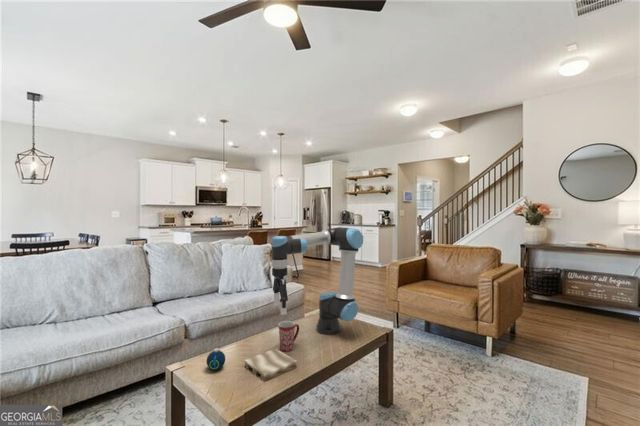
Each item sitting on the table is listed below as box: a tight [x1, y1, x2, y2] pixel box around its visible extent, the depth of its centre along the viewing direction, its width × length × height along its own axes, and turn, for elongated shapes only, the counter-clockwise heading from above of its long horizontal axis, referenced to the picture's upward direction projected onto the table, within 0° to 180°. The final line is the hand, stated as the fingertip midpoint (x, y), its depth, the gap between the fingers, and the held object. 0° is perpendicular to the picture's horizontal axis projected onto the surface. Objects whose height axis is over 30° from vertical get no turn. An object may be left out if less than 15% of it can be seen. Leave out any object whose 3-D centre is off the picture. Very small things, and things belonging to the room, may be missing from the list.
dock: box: [244, 348, 298, 382], centre depth 147 cm, size 18×18×3 cm
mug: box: [277, 320, 300, 352], centre depth 167 cm, size 13×9×14 cm
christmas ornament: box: [206, 347, 226, 371], centre depth 145 cm, size 8×8×10 cm
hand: (280, 309), depth 152 cm, fingers open, 13 cm apart
